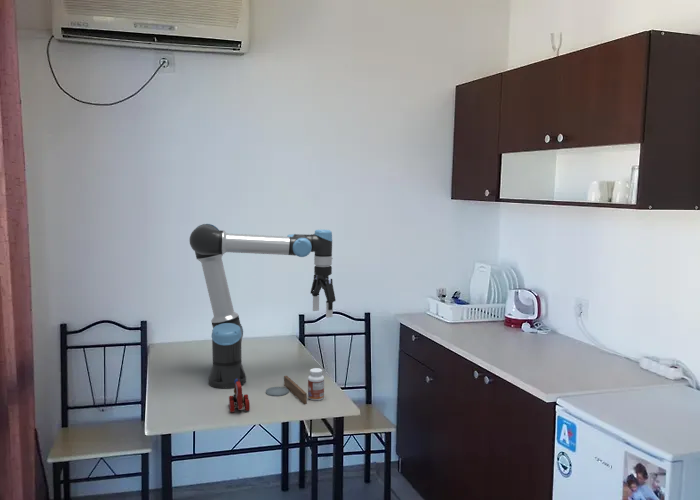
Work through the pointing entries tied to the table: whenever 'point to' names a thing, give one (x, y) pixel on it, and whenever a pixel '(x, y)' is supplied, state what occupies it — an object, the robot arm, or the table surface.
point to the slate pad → (277, 391)
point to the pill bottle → (316, 384)
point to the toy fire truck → (238, 398)
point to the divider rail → (295, 389)
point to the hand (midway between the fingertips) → (322, 313)
